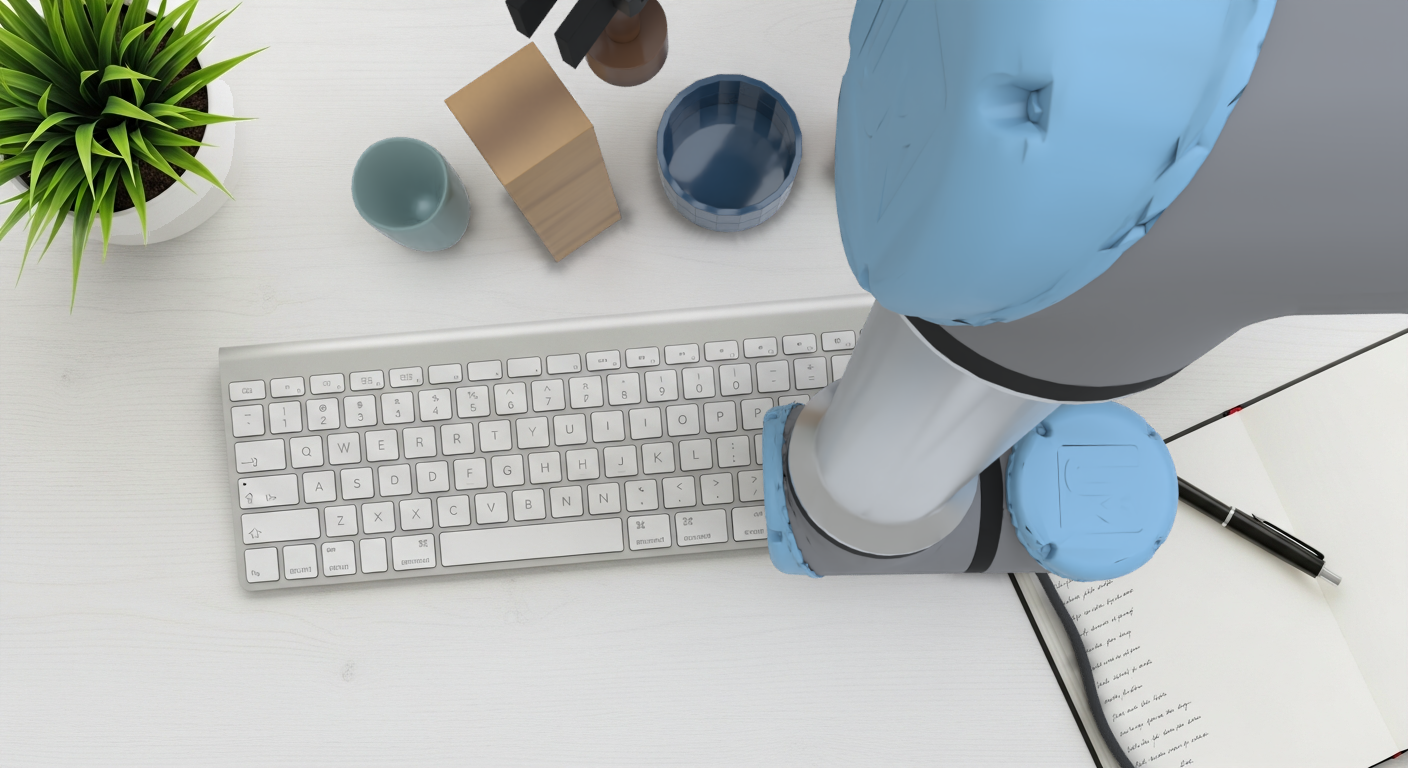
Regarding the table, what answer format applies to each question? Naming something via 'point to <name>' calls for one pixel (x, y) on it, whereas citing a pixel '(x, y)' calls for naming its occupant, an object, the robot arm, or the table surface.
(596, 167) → the upright wooden block
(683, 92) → the bowl
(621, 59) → the brown peg on base
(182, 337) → the table surface
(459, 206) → the cup
